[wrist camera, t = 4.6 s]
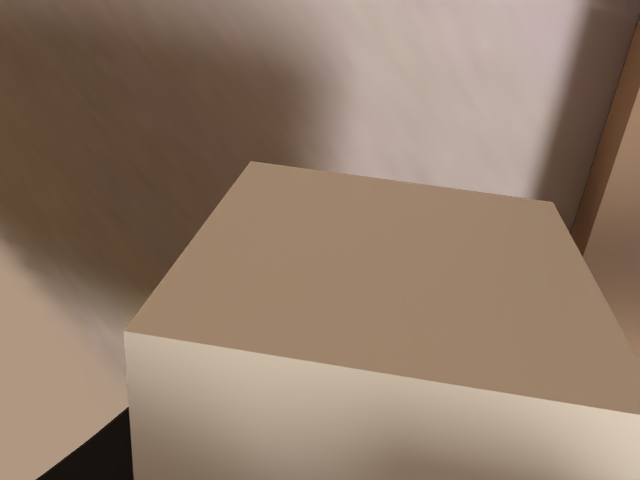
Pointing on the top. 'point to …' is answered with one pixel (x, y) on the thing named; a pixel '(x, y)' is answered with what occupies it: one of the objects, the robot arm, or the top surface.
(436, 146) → the top surface
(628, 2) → the top surface
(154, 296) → the carton
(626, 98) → the shelf board
